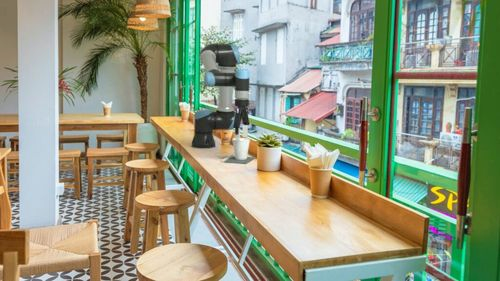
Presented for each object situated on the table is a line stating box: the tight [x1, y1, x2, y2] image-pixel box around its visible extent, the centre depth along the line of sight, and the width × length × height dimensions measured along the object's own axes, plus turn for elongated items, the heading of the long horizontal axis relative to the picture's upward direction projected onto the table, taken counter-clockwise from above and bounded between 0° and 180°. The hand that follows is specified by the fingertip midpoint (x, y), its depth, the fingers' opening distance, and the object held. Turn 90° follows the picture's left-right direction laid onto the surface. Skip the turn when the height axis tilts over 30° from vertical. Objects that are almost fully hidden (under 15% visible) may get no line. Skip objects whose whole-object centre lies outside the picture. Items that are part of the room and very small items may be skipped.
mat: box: [223, 155, 256, 165], centre depth 246 cm, size 18×12×1 cm, turn 164°
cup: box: [231, 137, 251, 160], centre depth 245 cm, size 10×10×11 cm
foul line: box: [220, 154, 235, 163], centre depth 249 cm, size 18×1×1 cm, turn 164°
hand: (241, 138), depth 244 cm, fingers open, 13 cm apart
